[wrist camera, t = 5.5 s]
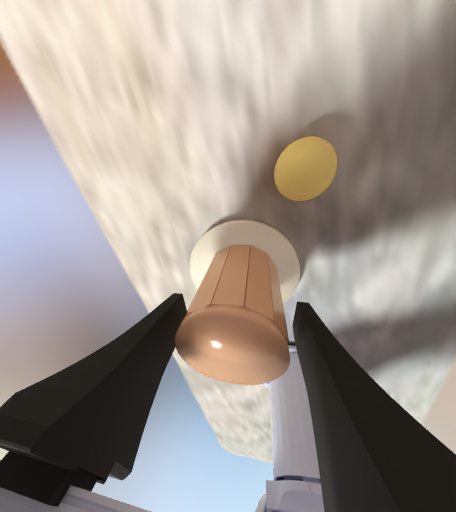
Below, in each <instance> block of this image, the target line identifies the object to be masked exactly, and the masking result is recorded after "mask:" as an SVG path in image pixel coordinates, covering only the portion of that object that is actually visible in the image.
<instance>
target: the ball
mask: <svg viewBox="0 0 456 512" xmlns="http://www.w3.org/2000/svg"><path fill="white" fill-rule="evenodd" d="M336 170H337V155H336V152H335V149H334V148H333V146H332V145H331V144H330V143H329V142H328V141H326V140H325V139H323V138H320V137H315V136H309V137H304V138H301V139H298V140H296V141H294V142H293V143H291V144H290V145H289V146H288V147H287V148H286V149H285V150H284V151H283V152H282V153H281V155H280V156H279V158H278V160H277V163H276V166H275V171H274V180H275V184H276V187H277V189H278V190H279V192H280V193H281V194H282V195H283V196H285V197H286V198H288V199H290V200H293V201H306V200H310V199H312V198H315V197H316V196H318V195H320V194H321V193H322V192H324V191H325V190H326V189H327V187H328V186H329V185H330V184H331V182H332V180H333V179H334V176H335V174H336Z"/></svg>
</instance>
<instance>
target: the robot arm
mask: <svg viewBox="0 0 456 512" xmlns="http://www.w3.org/2000/svg"><path fill="white" fill-rule="evenodd" d="M186 313H187V310H186V306H185V302H184V298H183V295H182V294H177V293H174V294H172V295H171V296H170V297H169V298H167V299H166V300H165V301H164V302H163V303H161V304H160V305H159V306H158V307H157V308H156V309H154V310H153V311H152V312H151V313H149V314H148V315H147V316H146V317H145V318H143V319H142V320H141V321H139V322H138V323H137V324H135V325H134V326H133V327H131V328H130V329H129V330H127V331H126V332H125V333H123V334H122V335H120V336H119V337H117V338H116V339H115V340H113V341H111V342H110V343H109V344H107V345H105V346H104V347H102V348H100V349H99V350H97V351H95V352H94V353H92V354H90V355H89V356H87V357H85V358H84V359H82V360H80V361H78V362H76V363H75V364H73V365H71V366H69V367H67V368H65V369H64V370H62V371H60V372H58V373H56V374H54V375H52V376H50V377H48V378H46V379H44V380H42V381H40V382H38V383H35V384H34V385H31V386H29V387H27V388H25V389H23V390H21V391H19V392H17V393H15V394H14V395H13V396H12V397H11V398H10V399H8V400H7V401H6V402H5V403H4V404H3V405H2V406H1V407H0V448H3V449H5V450H8V451H9V452H8V453H7V454H6V455H5V457H4V458H3V459H2V460H0V512H150V511H147V510H144V509H141V508H138V507H135V506H132V505H129V504H126V503H123V502H120V501H117V500H114V499H111V498H108V497H105V496H102V495H99V494H96V493H93V492H91V491H92V489H93V487H94V485H95V483H96V482H98V483H101V484H104V483H105V482H106V480H107V477H108V476H109V477H113V478H116V479H119V480H123V479H125V478H126V477H127V476H128V475H129V474H130V473H131V472H132V469H133V465H134V461H135V458H136V454H137V451H138V447H139V444H140V441H141V437H142V434H143V431H144V428H145V425H146V422H147V418H148V415H149V412H150V409H151V406H152V404H153V400H154V398H155V395H156V392H157V389H158V386H159V384H160V381H161V378H162V375H163V373H164V371H165V368H166V366H167V364H168V362H169V360H170V357H171V355H172V353H173V351H174V349H175V347H176V346H175V336H176V333H177V331H178V329H179V327H180V325H181V323H182V321H183V319H184V317H185V315H186ZM293 332H294V339H295V345H296V346H289V345H288V347H289V353H290V365H289V368H288V369H287V371H286V372H285V373H284V374H283V375H282V376H281V377H279V378H278V379H276V380H273V381H271V382H268V383H264V387H266V388H270V404H271V426H272V449H273V471H274V481H270V480H266V494H264V495H263V496H262V497H261V499H260V501H259V503H258V506H257V509H256V511H255V512H456V454H454V453H453V452H452V451H451V450H450V449H448V448H447V447H446V446H445V445H444V444H443V443H442V442H440V441H439V440H438V439H437V438H436V437H435V436H433V435H432V434H431V433H430V432H429V431H428V430H426V429H425V428H424V427H423V426H422V425H421V424H420V423H419V422H418V421H416V420H415V419H414V418H413V417H412V416H411V415H410V414H409V413H408V412H407V411H406V410H404V409H403V408H402V407H401V406H400V405H399V404H398V403H397V402H396V401H395V400H394V399H392V398H391V397H390V396H389V395H388V394H387V393H386V392H385V391H384V390H383V389H382V388H381V387H380V386H379V385H378V384H377V383H376V382H375V381H374V380H373V379H372V378H371V377H370V376H369V375H368V374H367V373H366V372H365V371H364V370H363V369H362V368H361V367H360V365H359V364H358V363H357V362H356V361H355V360H354V359H353V358H352V357H351V356H350V354H349V353H348V352H347V351H346V350H345V349H344V348H343V347H342V345H341V344H340V343H339V342H338V341H337V339H336V338H335V337H334V336H333V334H332V333H331V332H330V331H329V329H328V328H327V327H326V326H325V324H324V323H323V322H322V320H321V319H320V318H319V316H318V315H317V314H316V312H315V311H314V309H313V308H312V307H311V305H310V304H309V303H305V302H297V305H296V310H295V316H294V321H293Z"/></svg>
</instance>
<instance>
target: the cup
mask: <svg viewBox="0 0 456 512" xmlns="http://www.w3.org/2000/svg"><path fill="white" fill-rule="evenodd" d="M288 343H289V338H288V332H287V326H286V320H285V314H284V308H283V302H282V296H281V290H280V283H279V277H278V271H277V267H276V266H275V264H274V262H273V261H272V259H271V258H270V256H269V254H268V253H266V252H264V251H262V250H260V249H258V248H256V247H254V246H252V245H251V246H250V245H230V246H228V247H226V248H224V249H222V250H220V251H219V252H217V253H216V254H215V256H214V258H213V260H212V262H211V264H210V266H209V268H208V270H207V272H206V274H205V276H204V278H203V280H202V282H201V284H200V286H199V288H198V290H197V292H196V295H195V297H194V299H193V301H192V303H191V305H190V307H189V309H188V311H187V313H186V315H185V317H184V319H183V321H182V323H181V325H180V327H179V329H178V331H177V333H176V336H175V346H176V349H177V351H178V353H179V355H180V356H181V357H182V359H183V360H184V361H185V362H186V363H187V364H188V365H190V366H191V367H192V368H194V369H195V370H197V371H198V372H200V373H202V374H204V375H206V376H208V377H211V378H213V379H216V380H219V381H223V382H227V383H232V384H239V385H257V384H264V383H268V382H271V381H273V380H276V379H278V378H279V377H281V376H282V375H283V374H284V373H285V372H286V371H287V369H288V368H289V365H290V353H289V347H288Z"/></svg>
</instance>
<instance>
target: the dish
mask: <svg viewBox="0 0 456 512" xmlns="http://www.w3.org/2000/svg"><path fill="white" fill-rule="evenodd" d="M230 245H250V246H251V245H252V246H254V247H256V248H258V249H260V250H262V251H264V252H266V253H268V254H269V256H270V258H271V259H272V261H273V262H274V264H275V266H276V267H277V271H278V277H279V283H280V290H281V296H282V302H283V303H284V302H286V301H287V300H288V299H289V298H290V297H291V296H292V294H293V293H294V291H295V290H296V288H297V286H298V283H299V279H300V264H299V260H298V257H297V255H296V252H295V250H294V248H293V246H292V244H291V243H290V241H289V240H288V239H287V238H286V237H285V236H284V235H283V234H282V233H281V232H280V231H278V230H276V229H275V228H273V227H271V226H269V225H267V224H265V223H262V222H259V221H254V220H244V219H240V220H231V221H227V222H224V223H221V224H218V225H217V226H215V227H213V228H211V229H210V230H209V231H207V232H206V233H205V234H204V235H203V236H202V237H201V239H200V240H199V241H198V243H197V244H196V246H195V247H194V249H193V252H192V255H191V259H190V272H191V276H192V279H193V281H194V284H195V285H196V287H197V289H198V288H199V286H200V284H201V282H202V280H203V278H204V276H205V274H206V272H207V270H208V268H209V266H210V264H211V262H212V260H213V258H214V256H215V254H216V253H217V252H219V251H220V250H222V249H224V248H226V247H228V246H230Z"/></svg>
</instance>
